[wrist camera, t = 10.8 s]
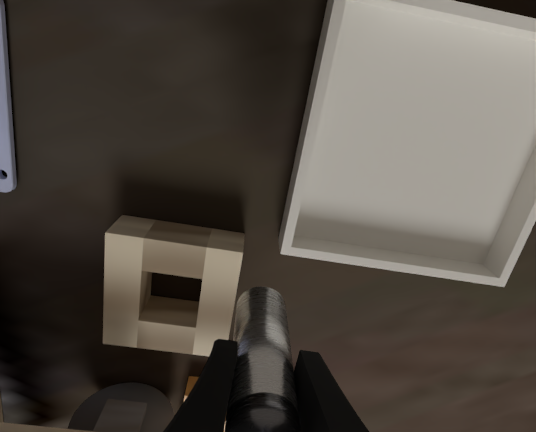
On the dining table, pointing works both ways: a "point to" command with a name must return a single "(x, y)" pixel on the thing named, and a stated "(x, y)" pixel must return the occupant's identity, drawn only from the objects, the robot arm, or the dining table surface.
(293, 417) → the pin
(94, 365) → the dining table surface
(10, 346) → the dining table surface
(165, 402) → the trolley
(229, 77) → the dining table surface
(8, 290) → the dining table surface
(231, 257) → the pin socket
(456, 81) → the parts tray
